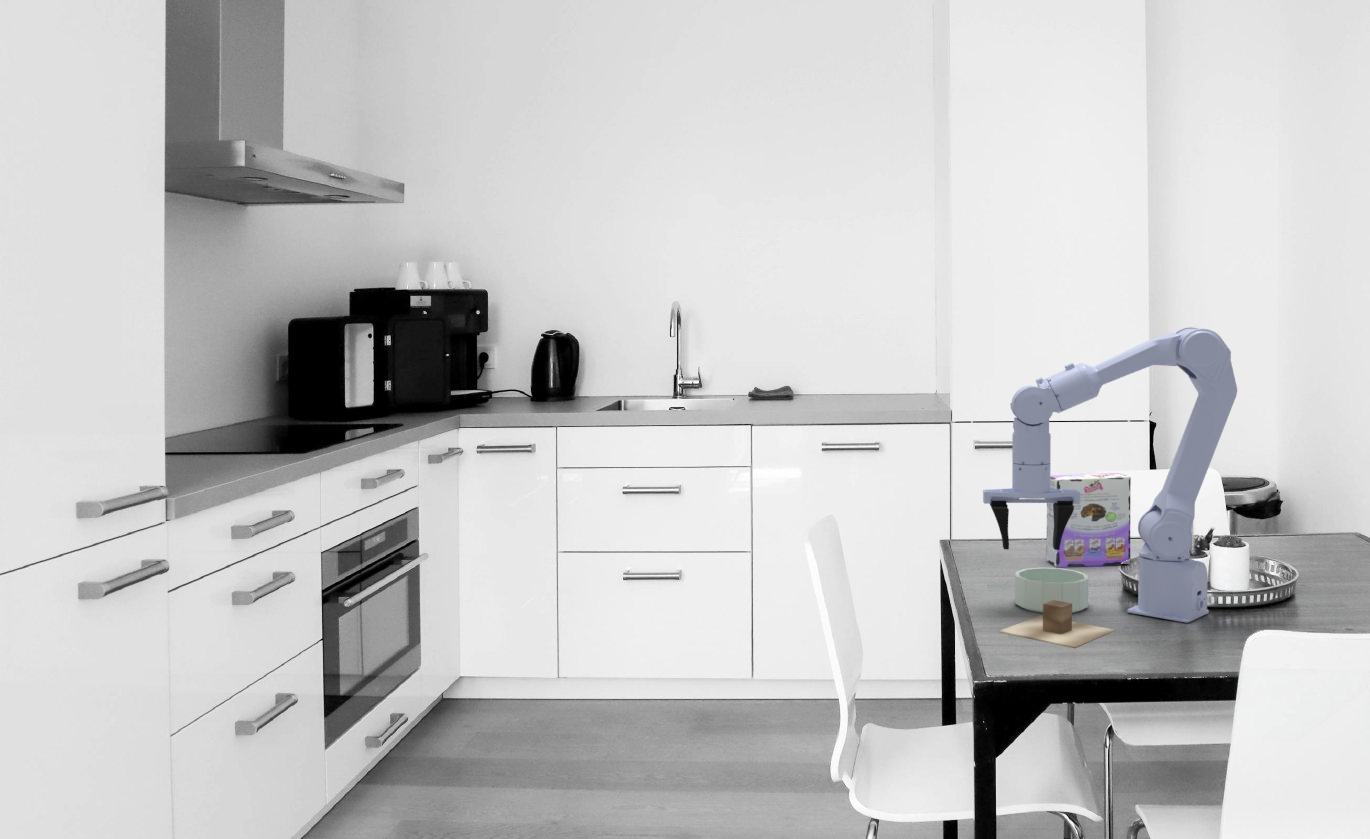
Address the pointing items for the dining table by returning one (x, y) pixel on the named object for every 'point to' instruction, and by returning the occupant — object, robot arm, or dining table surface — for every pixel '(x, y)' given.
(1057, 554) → the candy box
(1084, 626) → the birch lid
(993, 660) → the dining table surface
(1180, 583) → the robot arm
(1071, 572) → the celadon bowl
